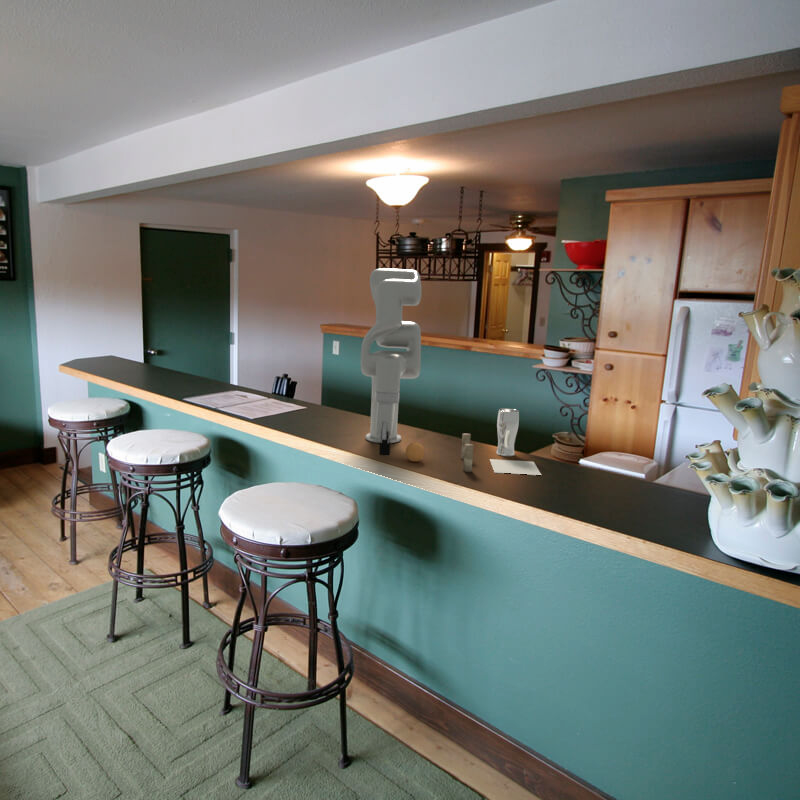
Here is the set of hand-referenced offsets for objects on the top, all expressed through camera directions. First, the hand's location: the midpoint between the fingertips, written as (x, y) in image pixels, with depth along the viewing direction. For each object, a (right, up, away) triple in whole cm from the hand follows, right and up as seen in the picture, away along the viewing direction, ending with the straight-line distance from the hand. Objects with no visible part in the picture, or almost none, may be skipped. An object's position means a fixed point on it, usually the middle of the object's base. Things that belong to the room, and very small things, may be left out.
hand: (384, 454), depth 177 cm
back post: (+26, -2, +5) cm, 26 cm away
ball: (+10, +1, -1) cm, 10 cm away
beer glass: (+40, -1, +13) cm, 42 cm away
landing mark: (+40, -4, -2) cm, 41 cm away
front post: (+25, -4, -7) cm, 26 cm away
